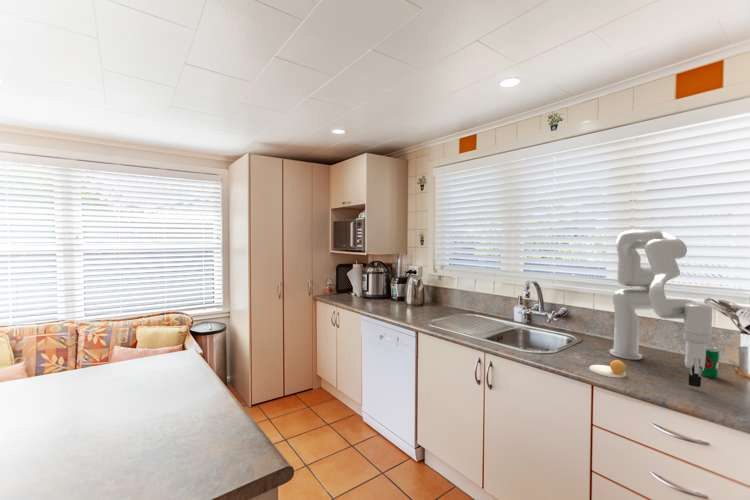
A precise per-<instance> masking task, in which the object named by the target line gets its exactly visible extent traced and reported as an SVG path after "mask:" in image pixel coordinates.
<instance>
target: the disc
mask: <svg viewBox="0 0 750 500" xmlns="http://www.w3.org/2000/svg"><path fill="white" fill-rule="evenodd" d="M588 369H589V370H590V371H591V372H593V373H595V374H597V375H600V376H602V377H603V376H604V377H609V378H615V379H617V378H618V379H619V378H620V379H621V378H625V377H626V376H627V373H626V371H625V372H624V373H623V374H616V373H614V372H613V371H612V370H611V368H610V365H605V364H593V365H590V366H589V368H588Z"/></svg>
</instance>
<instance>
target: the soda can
mask: <svg viewBox="0 0 750 500" xmlns="http://www.w3.org/2000/svg"><path fill="white" fill-rule="evenodd" d="M719 360H720V350H719V348H718V347H716V346H713V345H706V357H705V367H704V370H703V371H702V370H701V376H702V377H704V378H709V379H717V378H718V377H719V365H720V364H719V362H720V361H719Z"/></svg>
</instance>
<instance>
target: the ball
mask: <svg viewBox="0 0 750 500" xmlns="http://www.w3.org/2000/svg"><path fill="white" fill-rule="evenodd" d="M609 366H610V368H611V370H612V371H613V372H614V373H616V374H623V373H624V372H625V373H626V371H627V367H626V366H627V365H626V364H625V362H623V361H621V360H619V359H614V360H612V361H611V362H610V364H609Z"/></svg>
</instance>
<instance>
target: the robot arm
mask: <svg viewBox="0 0 750 500" xmlns="http://www.w3.org/2000/svg"><path fill="white" fill-rule="evenodd" d="M615 248H616V250H617V251H616V252H617V256H618V257H617V259H618V260H617V282H618V284H619V285H621V286H622V287H630V289H629V288H627V289H626V288H625V289H624V288H623V289H618V290H616V291H615V292H613V295H612V302H613V310H614V326H613V329H614V330H613V331H614V332H613V348H611V349H609V354H610V355H612V356H614V357H617V358H621V359H625V360H631V361H633V360H634V361H635V360H637V361H638V360H642V359H643V355H642V354H641V353H639V346H640V345H639V341H640V318H639V316H638V314H637V313H636V311H637V310H639V311H640V310H641V311H643V310H645V311H646V310H647V311H648V310H653V311H654V313H655V315H657V317H659V318H662V319H666V320H667V319H668V320H670V319H672V320H673V319H677V320H683V330H682V340H683V341H685V349H684V352H685V353H684V365H685V367H686V368H687V369H689V373H688V385H689V386H692V387H695V388H696V387H697V388H700V387H701V381H702V374H701V370H702V371H703V370H704V367H705V357H706V346H707V345H711V344H712V343H711V341H712V324H713V307H711V306H710V305H708V304H705V303H698V302H696V301H694V300H691V299H686V298H685V299H679V298H677V299H676V298H667V297H666V293H665V285H666V283H667V282H668V281H670V280H673V279H675V278H677V277H679V276H680V275H681V270H680V268H679V265H678V263H677V260H680V259H683V258H684V257H686V255H687V252H688V247H687V245H686V243H685V242H684V241H682V240H681V239H680V238H678V237H676V236H673V234H669V233H667V232H665V231H662V230H658V229H656V230H655V229H631V230H626V231H623V232H621V233H620V234H619V235H618V236H617V238H616V247H615ZM639 249H640V250H642V249H643V250H644V252H645V255H646V257H647V260H648V263H649V266H641V262H642V261H641V255H640V254H639V252H638V251H637V250H639ZM631 287H632V289H631ZM634 287H636V289H633V288H634ZM637 287H638V288H639V289H638V288H637Z"/></svg>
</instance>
